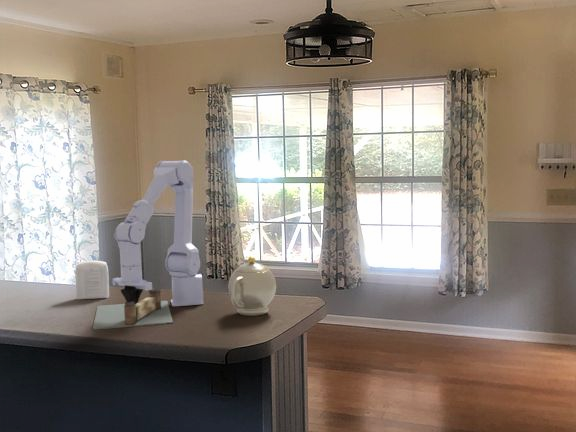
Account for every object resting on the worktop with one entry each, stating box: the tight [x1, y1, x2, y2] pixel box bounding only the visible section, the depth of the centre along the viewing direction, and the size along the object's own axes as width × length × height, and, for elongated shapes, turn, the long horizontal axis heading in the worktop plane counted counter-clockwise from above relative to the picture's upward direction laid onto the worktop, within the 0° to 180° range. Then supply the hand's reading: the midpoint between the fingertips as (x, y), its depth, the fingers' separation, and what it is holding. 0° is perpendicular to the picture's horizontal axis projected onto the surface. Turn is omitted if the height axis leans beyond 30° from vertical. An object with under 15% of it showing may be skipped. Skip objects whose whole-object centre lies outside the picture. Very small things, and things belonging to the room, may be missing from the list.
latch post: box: [124, 301, 136, 325], centre depth 176 cm, size 3×3×6 cm
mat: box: [92, 300, 174, 331], centre depth 188 cm, size 21×27×1 cm
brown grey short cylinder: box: [148, 288, 162, 310], centre depth 193 cm, size 3×3×6 cm
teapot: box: [228, 256, 277, 317], centre depth 185 cm, size 18×14×16 cm
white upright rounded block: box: [75, 259, 110, 300], centre depth 211 cm, size 10×4×12 cm, turn 103°
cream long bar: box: [135, 295, 156, 320], centre depth 184 cm, size 13×2×4 cm, turn 169°
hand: (133, 312), depth 183 cm, fingers closed, pressing on cream long bar
